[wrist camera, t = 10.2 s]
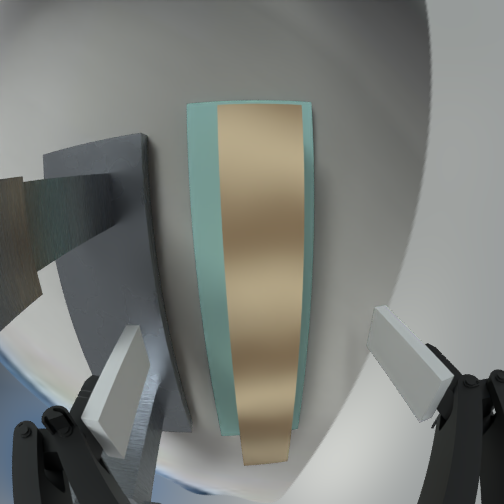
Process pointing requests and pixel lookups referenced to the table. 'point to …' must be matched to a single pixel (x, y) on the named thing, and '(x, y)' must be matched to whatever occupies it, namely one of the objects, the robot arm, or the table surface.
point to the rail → (263, 267)
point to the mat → (212, 256)
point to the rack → (98, 277)
